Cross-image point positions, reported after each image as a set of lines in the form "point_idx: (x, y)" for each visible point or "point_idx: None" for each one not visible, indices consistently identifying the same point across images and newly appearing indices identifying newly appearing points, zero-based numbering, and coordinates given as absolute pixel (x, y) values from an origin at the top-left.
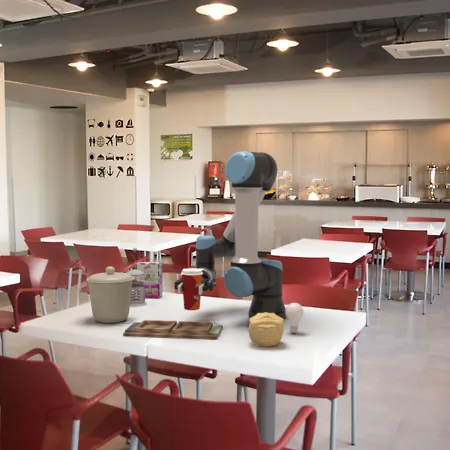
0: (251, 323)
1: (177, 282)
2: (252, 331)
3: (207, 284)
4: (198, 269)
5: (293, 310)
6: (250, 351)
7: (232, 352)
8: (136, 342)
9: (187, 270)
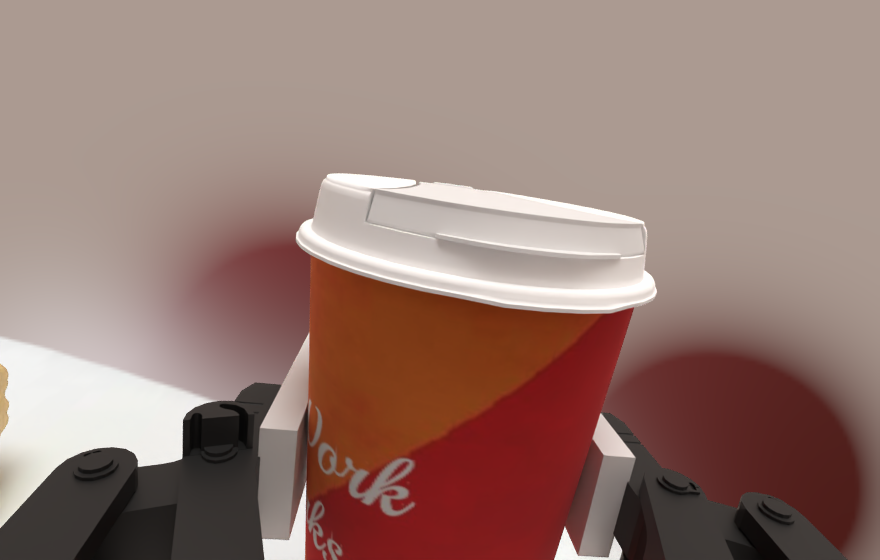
0: (4, 367)
1: (750, 510)
2: (6, 402)
3: (188, 455)
4: (386, 185)
5: None
6: (60, 444)
7: (156, 436)
8: (618, 543)
9: (521, 197)
